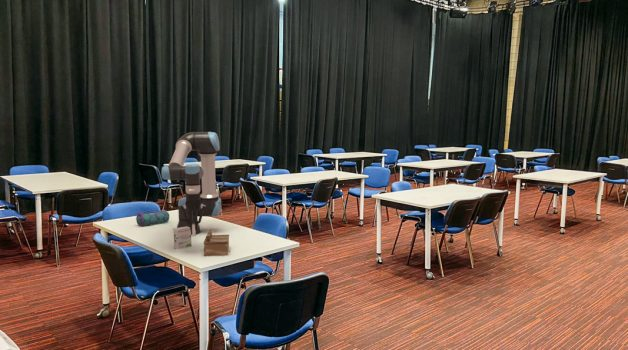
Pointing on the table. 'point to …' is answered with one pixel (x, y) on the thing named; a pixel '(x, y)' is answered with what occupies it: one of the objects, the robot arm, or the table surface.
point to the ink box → (182, 237)
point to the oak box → (216, 249)
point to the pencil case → (152, 218)
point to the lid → (216, 238)
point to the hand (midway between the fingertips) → (194, 236)
